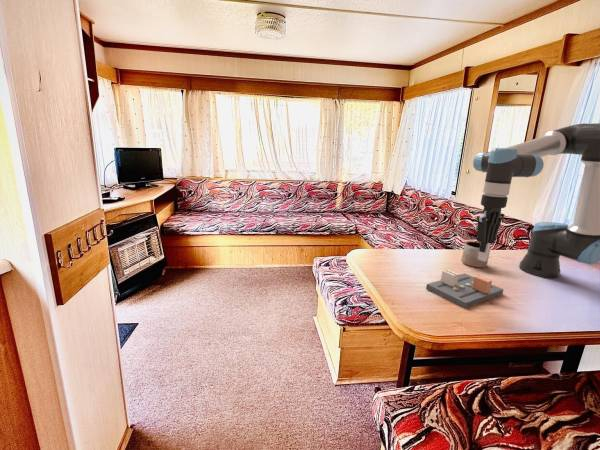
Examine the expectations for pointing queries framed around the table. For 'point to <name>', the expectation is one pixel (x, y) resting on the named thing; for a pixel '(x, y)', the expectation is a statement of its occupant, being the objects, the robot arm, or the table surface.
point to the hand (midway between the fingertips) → (482, 259)
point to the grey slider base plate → (463, 291)
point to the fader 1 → (449, 277)
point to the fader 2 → (482, 284)
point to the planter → (473, 255)
